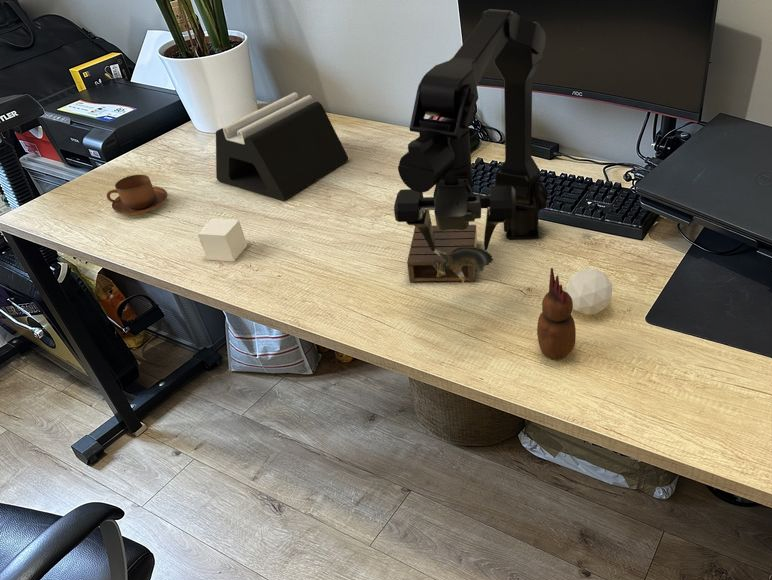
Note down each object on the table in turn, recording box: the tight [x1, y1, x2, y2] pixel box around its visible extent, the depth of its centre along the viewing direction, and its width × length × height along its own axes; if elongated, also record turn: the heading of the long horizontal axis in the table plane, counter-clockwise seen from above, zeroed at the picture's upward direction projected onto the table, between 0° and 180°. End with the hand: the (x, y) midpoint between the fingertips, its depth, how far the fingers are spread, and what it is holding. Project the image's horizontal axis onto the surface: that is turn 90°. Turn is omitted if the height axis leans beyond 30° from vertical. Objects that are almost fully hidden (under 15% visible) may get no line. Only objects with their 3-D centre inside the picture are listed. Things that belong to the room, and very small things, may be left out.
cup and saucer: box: [106, 174, 168, 216], centre depth 148 cm, size 12×12×6 cm
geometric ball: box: [565, 268, 613, 315], centre depth 110 cm, size 8×8×8 cm
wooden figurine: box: [536, 267, 577, 361], centre depth 100 cm, size 7×6×15 cm
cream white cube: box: [197, 217, 248, 262], centre depth 131 cm, size 6×6×6 cm
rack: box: [406, 224, 478, 284], centre depth 124 cm, size 12×13×4 cm
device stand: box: [215, 92, 349, 202], centre depth 155 cm, size 22×22×15 cm
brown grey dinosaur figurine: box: [433, 247, 494, 284], centre depth 110 cm, size 8×7×9 cm
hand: (459, 249), depth 108 cm, fingers closed on brown grey dinosaur figurine, 8 cm apart
